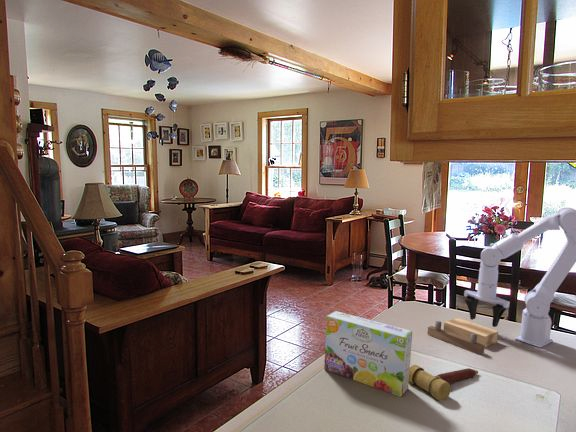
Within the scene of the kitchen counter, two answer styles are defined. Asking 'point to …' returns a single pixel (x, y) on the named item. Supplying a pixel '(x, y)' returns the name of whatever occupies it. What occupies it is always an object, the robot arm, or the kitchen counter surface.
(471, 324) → the wooden block
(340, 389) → the kitchen counter surface
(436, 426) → the kitchen counter surface
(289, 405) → the kitchen counter surface
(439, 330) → the bar
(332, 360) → the snack box
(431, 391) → the gavel
